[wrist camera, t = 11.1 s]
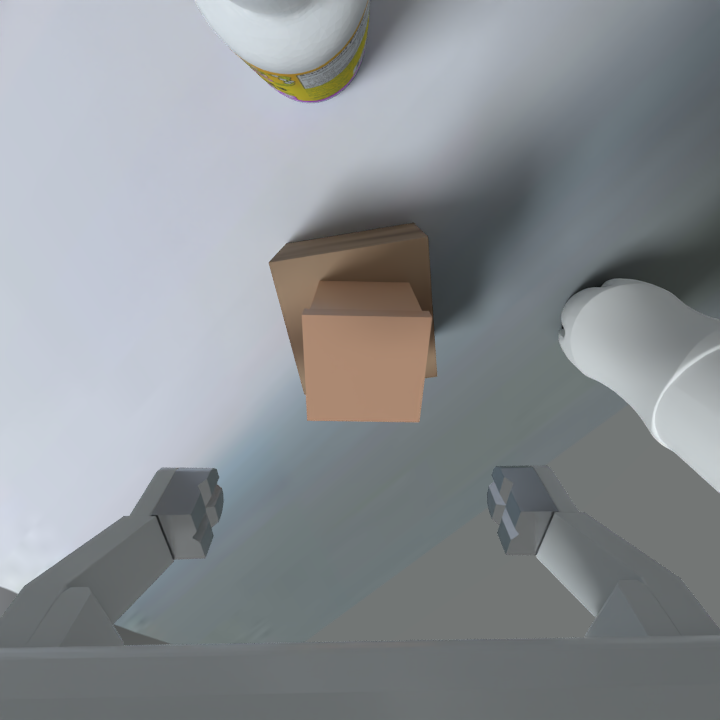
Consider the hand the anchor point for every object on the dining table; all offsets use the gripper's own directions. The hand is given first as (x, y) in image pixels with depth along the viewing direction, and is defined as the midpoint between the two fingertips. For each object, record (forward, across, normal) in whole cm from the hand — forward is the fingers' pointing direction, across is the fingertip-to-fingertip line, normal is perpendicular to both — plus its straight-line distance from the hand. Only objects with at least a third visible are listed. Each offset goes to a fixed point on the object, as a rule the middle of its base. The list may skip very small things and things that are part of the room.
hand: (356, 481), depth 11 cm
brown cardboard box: (+13, -1, +1) cm, 13 cm away
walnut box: (+19, 0, +1) cm, 19 cm away
